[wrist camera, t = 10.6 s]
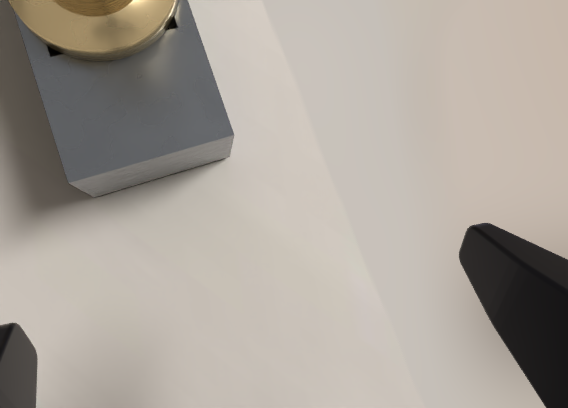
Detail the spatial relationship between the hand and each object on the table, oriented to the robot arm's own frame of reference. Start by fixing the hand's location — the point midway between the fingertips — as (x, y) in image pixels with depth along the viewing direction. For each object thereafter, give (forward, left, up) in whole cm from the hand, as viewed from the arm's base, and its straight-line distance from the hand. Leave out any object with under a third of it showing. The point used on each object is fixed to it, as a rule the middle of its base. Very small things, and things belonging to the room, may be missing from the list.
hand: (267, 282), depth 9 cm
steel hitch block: (+13, +2, -14) cm, 19 cm away
